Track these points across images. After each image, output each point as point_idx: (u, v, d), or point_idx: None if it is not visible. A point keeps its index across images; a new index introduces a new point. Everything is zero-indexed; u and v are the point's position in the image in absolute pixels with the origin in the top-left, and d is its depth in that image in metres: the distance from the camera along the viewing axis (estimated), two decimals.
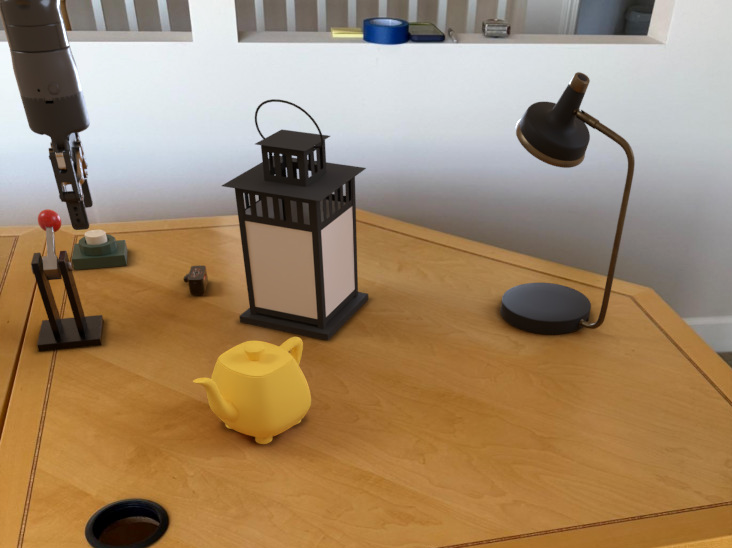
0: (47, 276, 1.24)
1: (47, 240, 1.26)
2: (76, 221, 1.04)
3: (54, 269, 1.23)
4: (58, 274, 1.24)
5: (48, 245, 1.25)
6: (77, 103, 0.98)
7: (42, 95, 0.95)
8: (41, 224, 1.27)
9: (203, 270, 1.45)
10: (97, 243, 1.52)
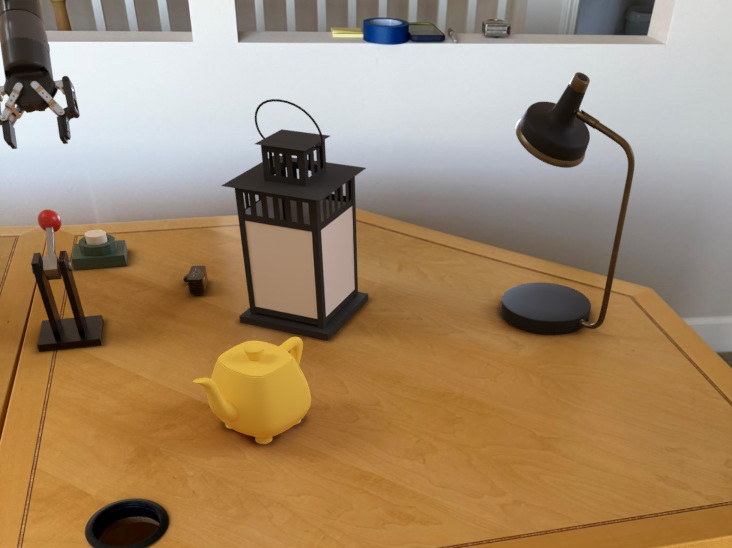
0: (47, 276, 1.24)
1: (47, 240, 1.26)
2: (67, 132, 1.31)
3: (54, 269, 1.23)
4: (58, 274, 1.24)
5: (48, 245, 1.25)
6: None
7: (46, 45, 1.30)
8: (41, 224, 1.27)
9: (203, 270, 1.45)
10: (97, 243, 1.52)
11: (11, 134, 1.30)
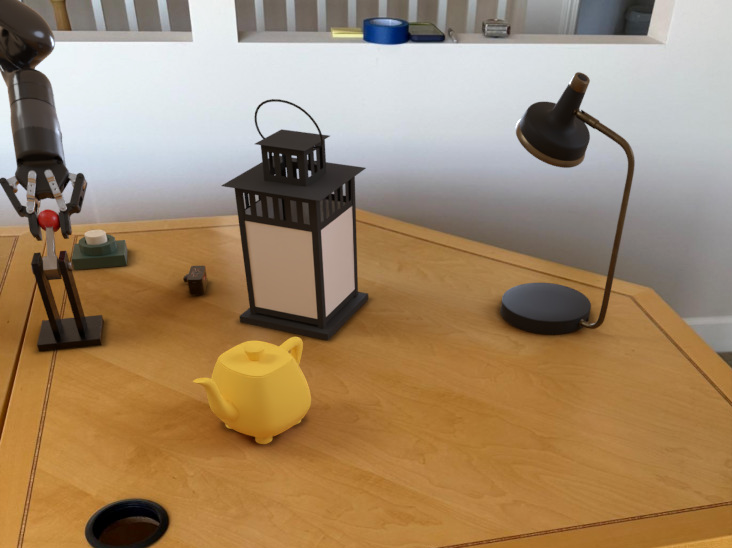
0: (47, 276, 1.24)
1: (47, 240, 1.26)
2: (69, 227, 1.28)
3: (54, 269, 1.23)
4: (58, 274, 1.24)
5: (48, 245, 1.25)
6: None
7: (59, 134, 1.29)
8: (41, 224, 1.27)
9: (203, 270, 1.45)
10: (97, 243, 1.52)
11: (38, 227, 1.27)
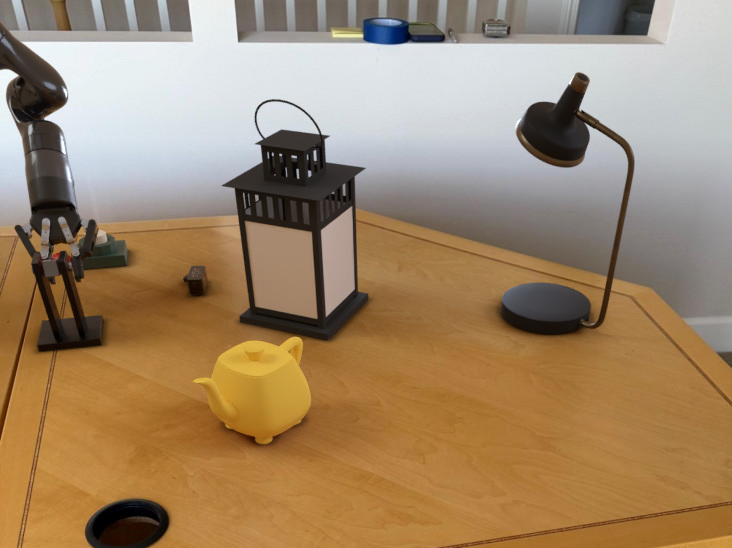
0: (45, 271, 1.23)
1: None
2: None
3: (52, 260, 1.23)
4: (56, 268, 1.23)
5: None
6: None
7: (72, 182, 1.34)
8: None
9: (202, 270, 1.45)
10: (97, 243, 1.52)
11: None
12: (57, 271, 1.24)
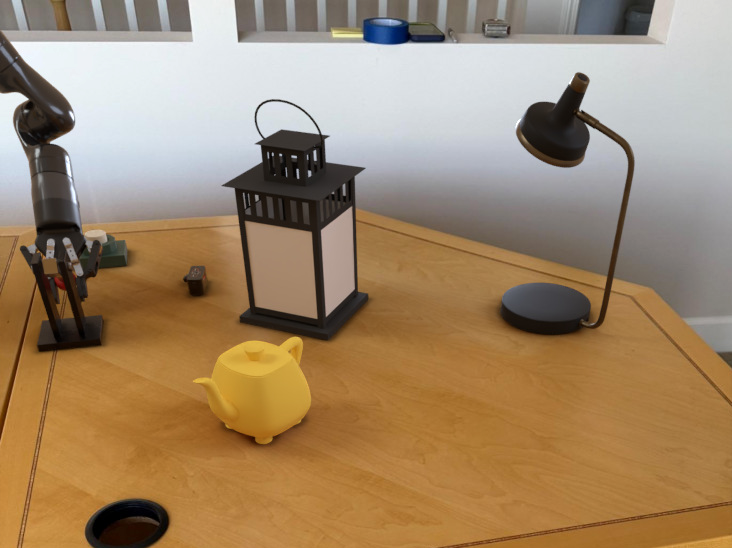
0: (44, 268, 1.23)
1: None
2: (85, 291, 1.35)
3: (52, 258, 1.23)
4: (56, 266, 1.23)
5: None
6: None
7: (77, 203, 1.35)
8: None
9: (202, 270, 1.45)
10: None
11: (56, 291, 1.33)
12: (56, 268, 1.23)
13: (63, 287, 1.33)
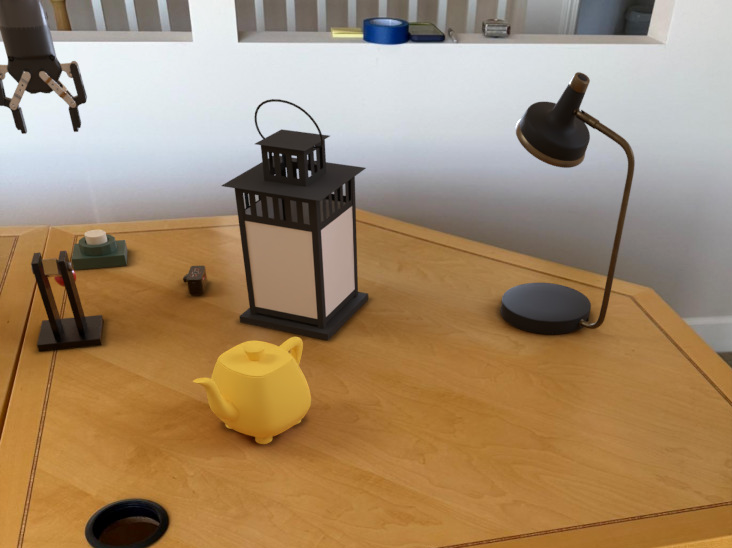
0: (44, 269, 1.23)
1: None
2: (79, 122, 1.35)
3: None
4: (56, 266, 1.23)
5: None
6: None
7: (47, 21, 1.24)
8: None
9: (202, 270, 1.45)
10: (97, 243, 1.52)
11: (23, 123, 1.32)
12: (56, 269, 1.23)
13: (63, 283, 1.33)
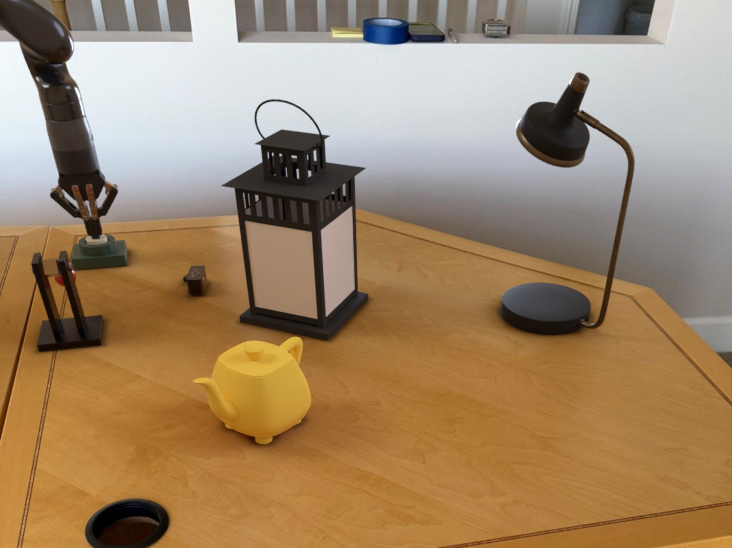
0: (44, 269, 1.23)
1: None
2: None
3: None
4: (56, 266, 1.23)
5: None
6: None
7: (92, 142, 1.42)
8: None
9: (202, 270, 1.45)
10: None
11: None
12: (56, 269, 1.23)
13: (63, 283, 1.33)
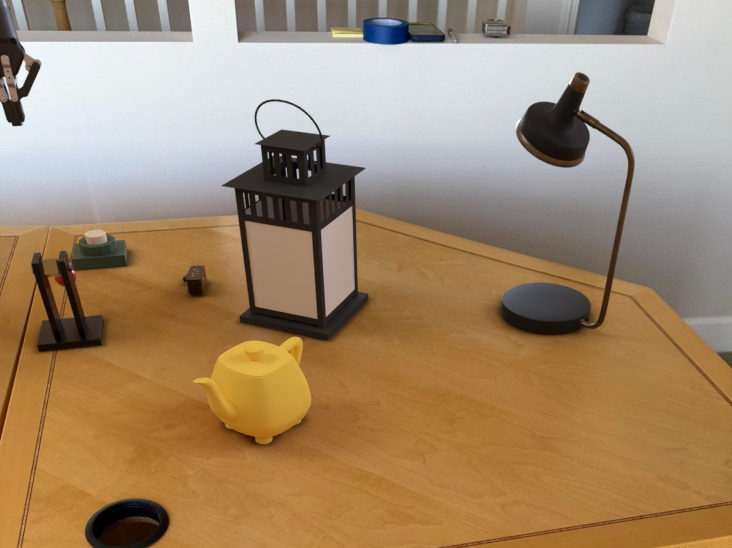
0: (44, 269, 1.23)
1: None
2: None
3: None
4: (56, 266, 1.23)
5: None
6: None
7: (7, 3, 1.20)
8: None
9: (202, 270, 1.45)
10: (97, 243, 1.52)
11: None
12: (56, 269, 1.23)
13: (63, 283, 1.33)
